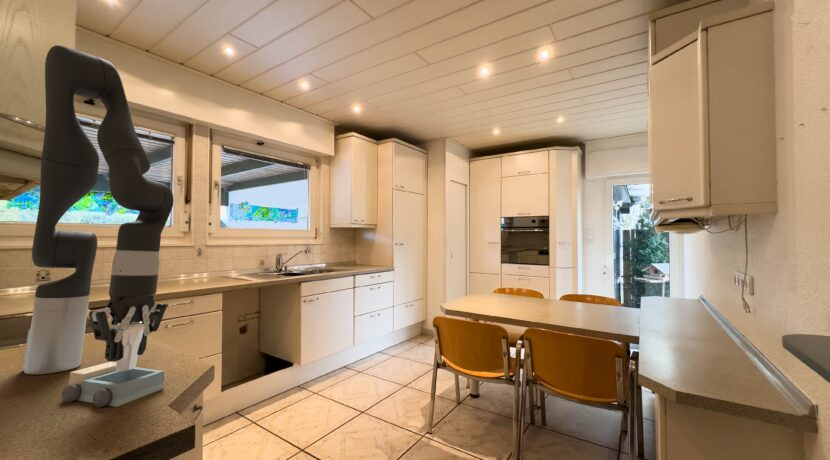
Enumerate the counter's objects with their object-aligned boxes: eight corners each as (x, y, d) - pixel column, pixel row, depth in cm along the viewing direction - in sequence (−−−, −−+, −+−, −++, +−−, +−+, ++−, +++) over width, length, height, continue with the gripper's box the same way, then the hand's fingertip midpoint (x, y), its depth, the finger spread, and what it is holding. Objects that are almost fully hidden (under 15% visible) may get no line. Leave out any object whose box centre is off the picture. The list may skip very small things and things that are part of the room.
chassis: (56, 400, 63) (59, 375, 63) (120, 380, 74) (122, 358, 75) (109, 409, 60) (112, 382, 61) (167, 386, 71) (170, 364, 72)
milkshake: (143, 363, 70) (149, 316, 72) (135, 371, 66) (142, 320, 67) (115, 365, 68) (122, 316, 70) (105, 373, 64) (113, 320, 65)
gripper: (111, 274, 61) (99, 370, 59) (181, 272, 75) (173, 350, 73) (81, 272, 63) (68, 366, 61) (154, 271, 77) (146, 347, 75)
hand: (125, 357), depth 67 cm, fingers closed on milkshake, 4 cm apart
